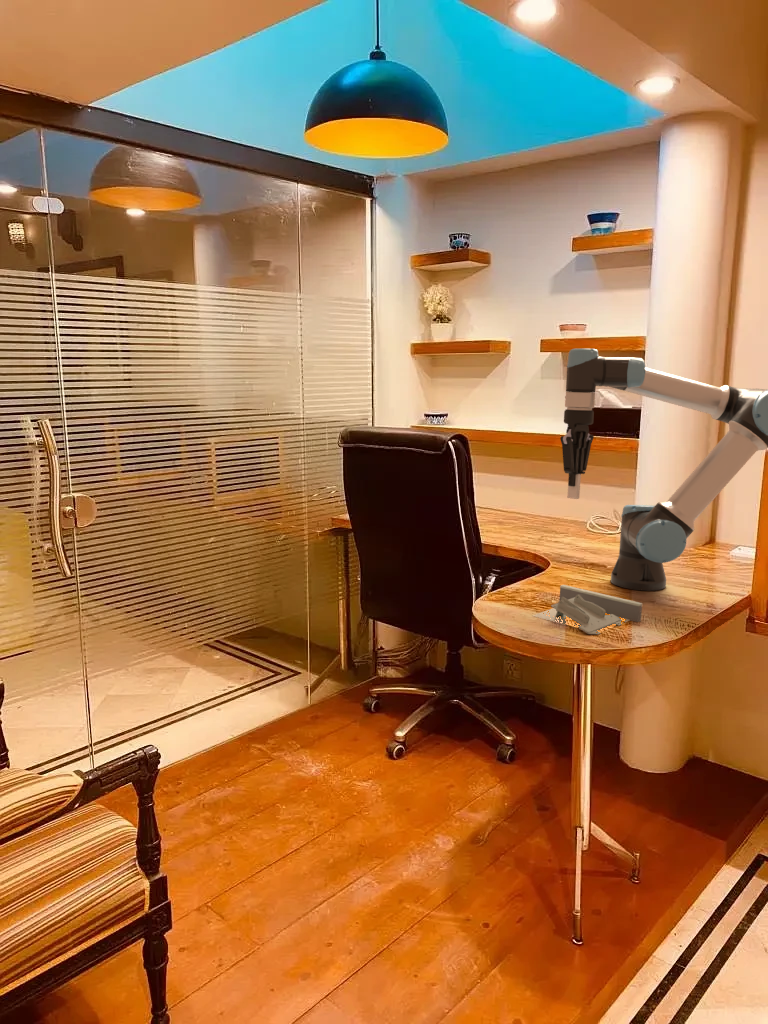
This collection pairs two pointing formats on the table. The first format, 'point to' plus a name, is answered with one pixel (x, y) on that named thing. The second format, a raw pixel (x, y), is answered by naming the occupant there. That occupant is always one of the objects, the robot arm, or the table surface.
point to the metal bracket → (585, 614)
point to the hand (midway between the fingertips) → (573, 498)
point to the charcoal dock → (607, 602)
